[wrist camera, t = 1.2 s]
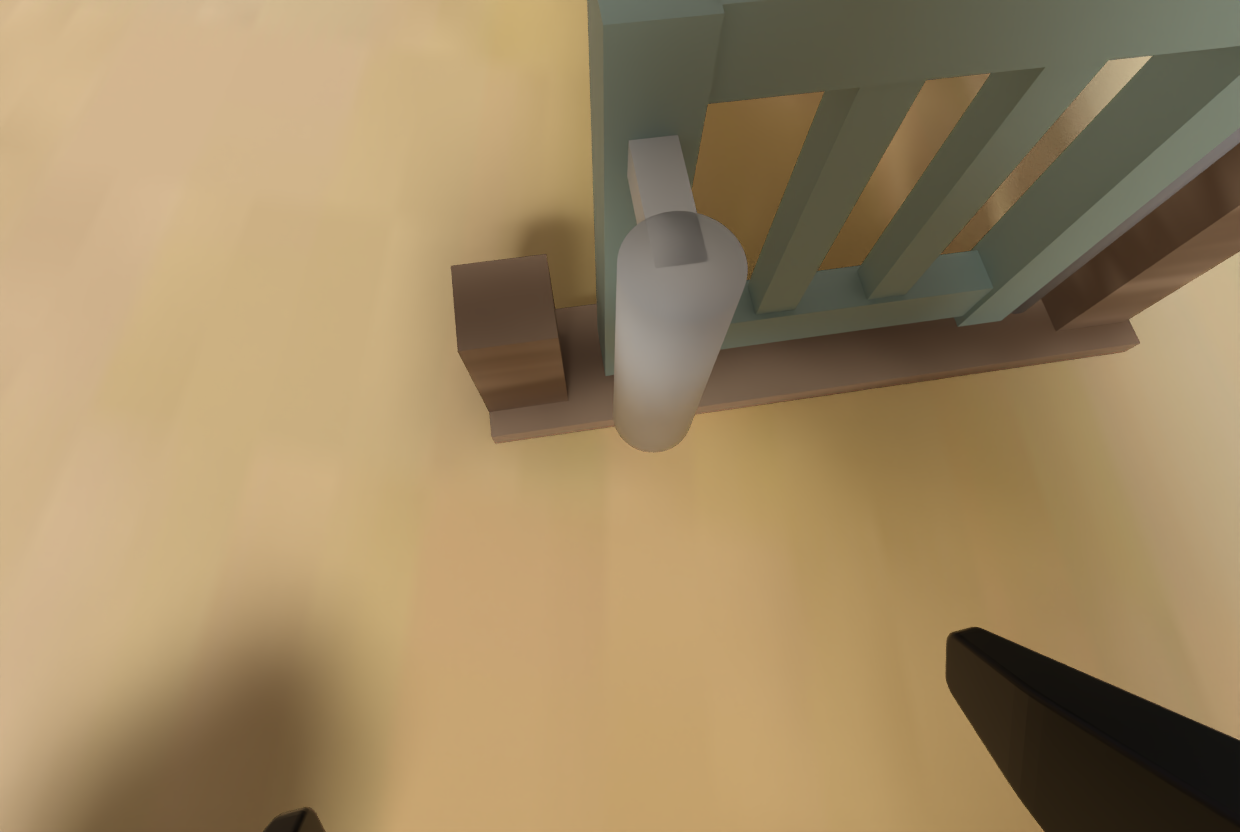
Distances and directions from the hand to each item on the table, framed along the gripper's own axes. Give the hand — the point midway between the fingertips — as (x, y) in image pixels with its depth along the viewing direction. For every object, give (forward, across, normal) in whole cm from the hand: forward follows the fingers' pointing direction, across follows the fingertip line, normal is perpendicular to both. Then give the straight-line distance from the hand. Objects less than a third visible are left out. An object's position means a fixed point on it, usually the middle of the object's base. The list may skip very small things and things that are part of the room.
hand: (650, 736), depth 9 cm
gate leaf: (+14, -10, +1) cm, 18 cm away
